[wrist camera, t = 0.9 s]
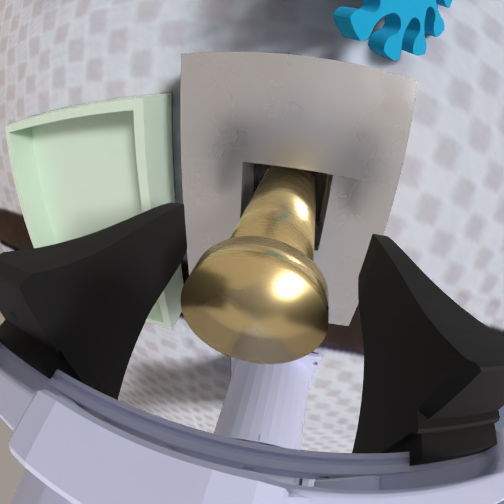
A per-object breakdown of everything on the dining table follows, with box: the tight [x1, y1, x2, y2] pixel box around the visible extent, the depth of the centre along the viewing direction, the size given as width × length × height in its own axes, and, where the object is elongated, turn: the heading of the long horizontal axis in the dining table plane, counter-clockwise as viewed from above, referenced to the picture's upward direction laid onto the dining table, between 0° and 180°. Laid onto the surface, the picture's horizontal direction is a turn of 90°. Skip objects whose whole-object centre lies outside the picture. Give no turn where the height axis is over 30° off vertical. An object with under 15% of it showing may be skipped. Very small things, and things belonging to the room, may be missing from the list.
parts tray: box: [5, 93, 184, 330], centre depth 18 cm, size 16×14×3 cm
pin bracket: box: [180, 52, 417, 326], centre depth 14 cm, size 14×10×3 cm
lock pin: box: [180, 165, 329, 364], centre depth 11 cm, size 4×4×10 cm
